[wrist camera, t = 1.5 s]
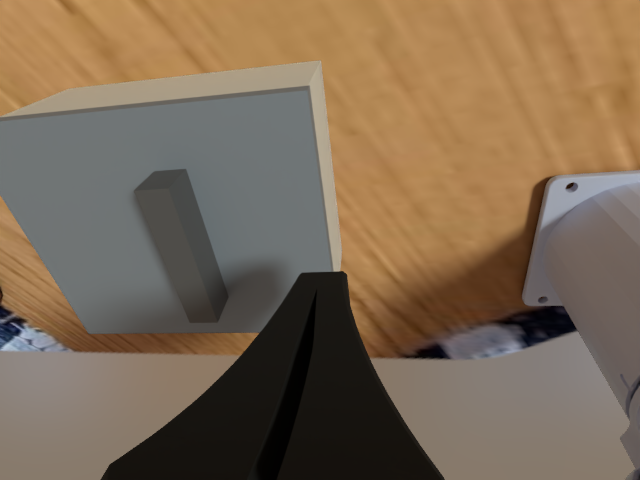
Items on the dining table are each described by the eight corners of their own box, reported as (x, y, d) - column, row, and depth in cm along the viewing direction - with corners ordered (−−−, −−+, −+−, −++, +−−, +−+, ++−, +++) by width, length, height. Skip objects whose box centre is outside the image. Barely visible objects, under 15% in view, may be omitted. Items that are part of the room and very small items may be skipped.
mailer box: (320, 60, 17) (305, 90, 13) (341, 250, 22) (335, 314, 18) (69, 88, 19) (-16, 122, 15) (146, 258, 24) (100, 317, 20)
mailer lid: (309, 85, 12) (299, 104, 11) (340, 322, 18) (337, 359, 16) (-30, 120, 14) (-84, 141, 13) (95, 324, 20) (69, 358, 18)
